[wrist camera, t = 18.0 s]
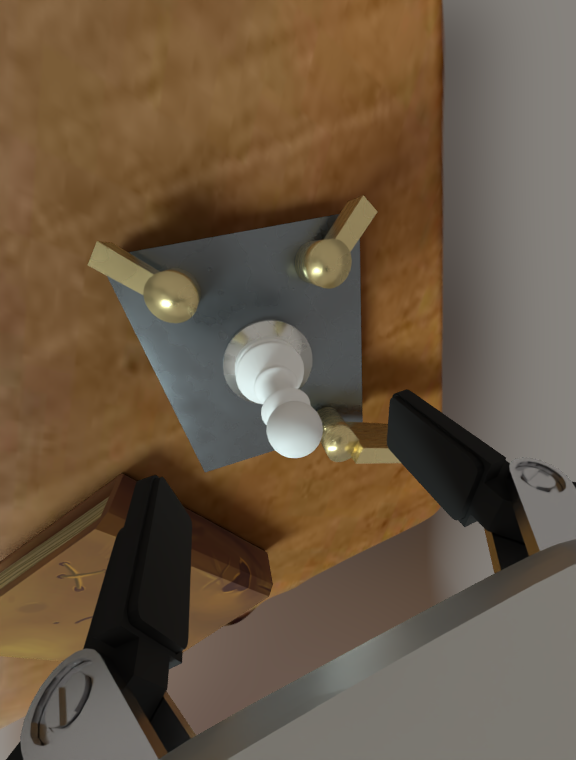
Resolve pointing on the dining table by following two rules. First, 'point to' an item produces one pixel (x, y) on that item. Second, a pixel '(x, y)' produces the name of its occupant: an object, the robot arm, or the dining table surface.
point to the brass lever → (354, 439)
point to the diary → (87, 570)
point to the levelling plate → (246, 320)
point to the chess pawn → (279, 394)
